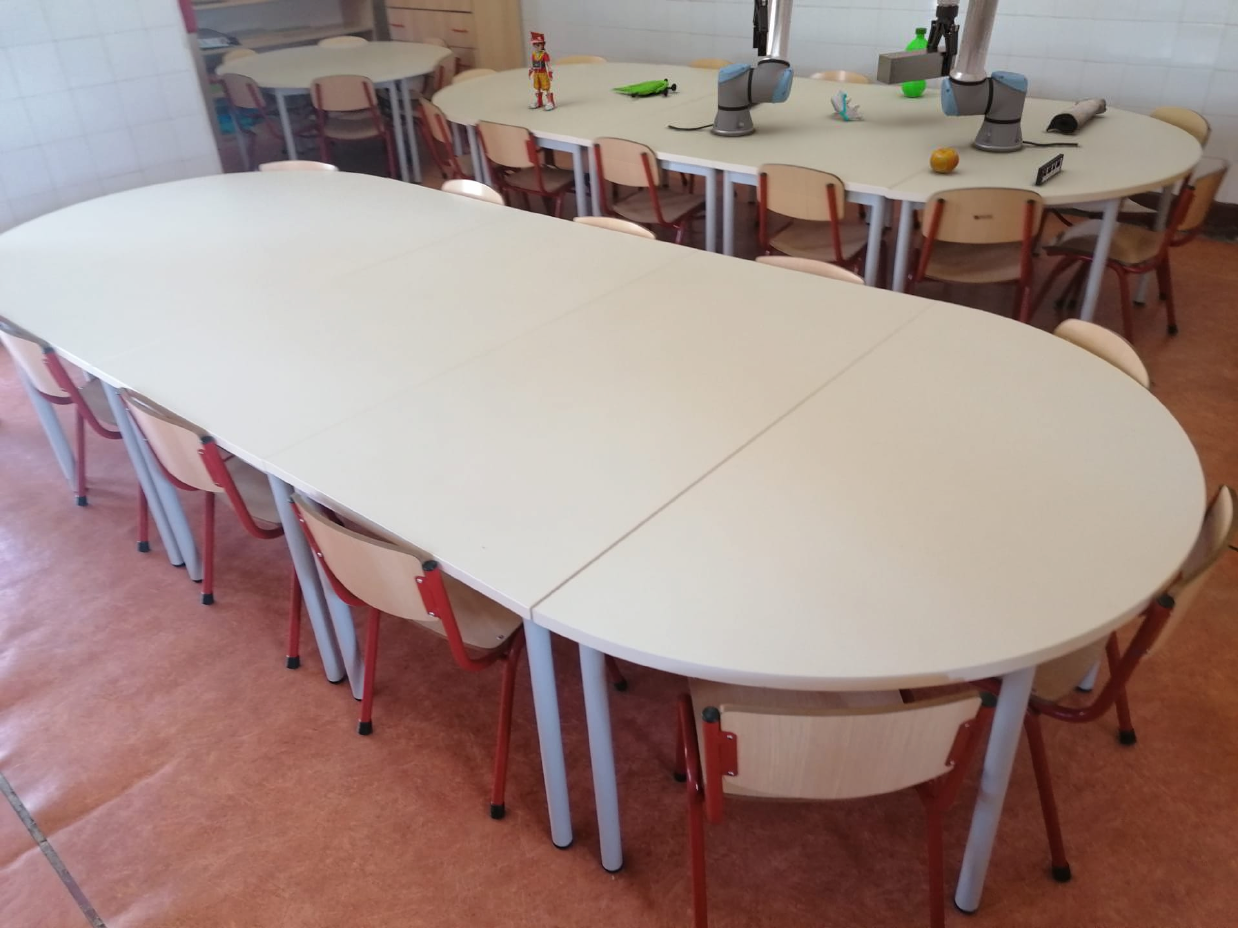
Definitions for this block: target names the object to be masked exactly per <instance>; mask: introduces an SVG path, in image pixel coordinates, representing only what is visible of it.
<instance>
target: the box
mask: <svg viewBox="0 0 1238 928" xmlns="http://www.w3.org/2000/svg"><path fill="white" fill-rule="evenodd" d="M949 53H950V52H949ZM945 55H946V48H945V45H941V46H938V47H933V48H925V49H917V50H910V51H905V50H903V51H896V52H895V51H894V52H887V53H880V54H878V62H877V71H876V72H877V73H876V81H877V82H880V83H883V84H885V85H897V84H902V83H905V82H912V81H919V80H926V81H927V80H933V79H939V78H940V79H941V78H949V75H950V74H949V75H948V76H942V70H943V63H944V57H945ZM956 61H957V55H955V56H953V58H952V64H951V67H950V71H951V70H952V69H954V68H955V67H956Z"/></svg>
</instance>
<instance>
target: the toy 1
mask: <svg viewBox="0 0 1238 928" xmlns="http://www.w3.org/2000/svg"><path fill="white" fill-rule="evenodd" d="M529 33H530V35H531V36H528V37H527V38H528V39H529V40H528V41H527V43H529V44H530V43H531V44H532V48H533V50H534V51H533V52H532V55H531V58H530V59H531V63H530V66H528V74H527V75H528V76H527V77H528V79H529V80H531V75H532V74H533V84H532V85H533V86H532V87H533V88H534V89H535V90H536V92H534V95H535V97H536V100H535V101H533V102H531V105H530V108H531V109H535V108H538V107H542V106H544V101H543V100H544V99H543V95H544V92H546V94H545V97H546V99H547V103H546V104H545V106H544V110H546V111H549V110H553V109H554V107H555V106H556V105H555V99H554V92H551V91H550V90H551V86H552V84H551V82H552V81H553V80H554V77H553V73H554V71H555V70H554V69H552V68H551V63H550V61H551V59H550V58H551V57H550V54H549V53H548V52H547V50H546V48H545V46H546V44H547V41H545V35H544V33H543V32H542V33H539V32H535V31H529Z"/></svg>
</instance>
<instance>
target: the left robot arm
mask: <svg viewBox="0 0 1238 928" xmlns="http://www.w3.org/2000/svg"><path fill="white" fill-rule="evenodd" d="M753 4H754V5H753V15H752V16H753V17H752V24H753V25H752V26H753V28H752V29H753V30H752V49H757V57H758V58H759V57H762V58H760V59H759V60H758V61H757V66H756V67H752V65H751V63H750V62H737V63H732V64H728V65H725V66H722V67H721V68H720V69H719V70H718V75H717V82H716V83H717V111H716V114H715V118H714V120H713V123H711V124H707V125H703V126H702V125H701V126H699V127H697V126H696V127H677V126H673V125H671V124H668V128H671V129H674V130H677V131H697V130H702V129H703V130H704V129H706V128H710V127H712V133H713V134H715V135H717V136H721V137H741V136H746V135H750V134H752V133H754V127H755V126H754V122H753V118H752V115H751V111H750V107H749V103H757V104H758V103H759V104H760V103H761V104H782V103H785V102H787V100H788V99H789V97H790V94H791V92H792V91H791V90H792V86H793V82H794V81H793V80H794V79H793V78H794V68H792V67H791V63H790V61H789V60H788V59H787V58H788V50H789V49H788V48H789V41H790V32H791V23H792V15H793V14H792V13H793V5H794V0H754V1H753Z"/></svg>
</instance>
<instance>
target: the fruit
mask: <svg viewBox="0 0 1238 928" xmlns="http://www.w3.org/2000/svg"><path fill="white" fill-rule="evenodd" d="M959 163H960V156H959V154H958V152H957V151H956V150H955V149H953V148H951V147H942V148H938V149H936V150H934V151H933V153H932V154H931V155H930V159H929V166H930V168H931V169H932V170H933V171H934V172H936V173H939V174H940V173H943V174H944V173H945V174H946V173H951V172H953V171H954V170H956V168H957V167H958V165H959Z"/></svg>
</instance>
